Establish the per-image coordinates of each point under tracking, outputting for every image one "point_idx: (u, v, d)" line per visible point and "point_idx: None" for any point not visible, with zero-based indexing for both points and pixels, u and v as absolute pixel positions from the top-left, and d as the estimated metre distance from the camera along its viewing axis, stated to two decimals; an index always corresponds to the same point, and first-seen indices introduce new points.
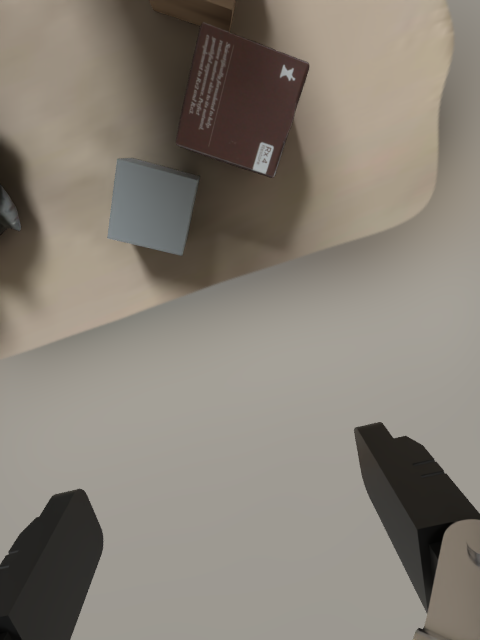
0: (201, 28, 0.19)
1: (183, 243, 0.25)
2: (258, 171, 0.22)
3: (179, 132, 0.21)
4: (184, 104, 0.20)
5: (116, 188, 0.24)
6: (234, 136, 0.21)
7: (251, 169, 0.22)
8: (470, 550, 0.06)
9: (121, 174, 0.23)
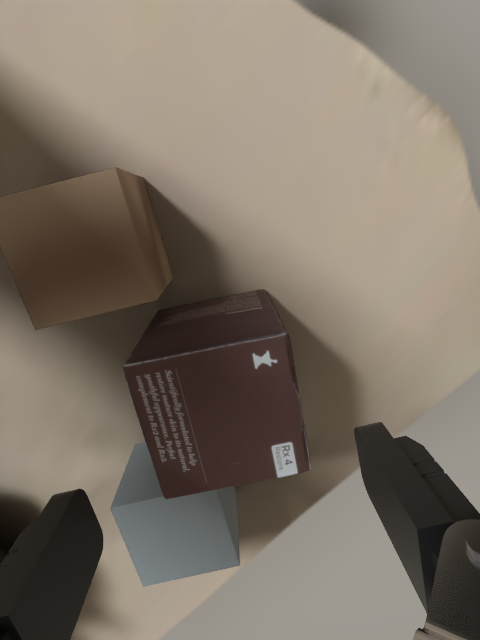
0: (125, 373, 0.13)
1: (234, 552, 0.19)
2: (286, 475, 0.15)
3: (162, 487, 0.14)
4: (151, 456, 0.14)
5: (125, 535, 0.18)
6: (233, 457, 0.14)
7: (276, 477, 0.15)
8: (470, 550, 0.06)
9: (122, 520, 0.18)
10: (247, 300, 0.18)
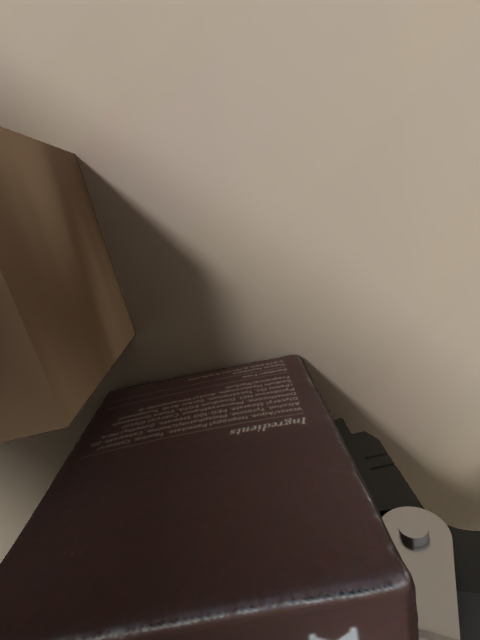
0: None
1: None
2: None
3: None
4: None
5: None
6: None
7: None
8: (400, 533, 0.07)
9: None
10: (271, 387, 0.09)
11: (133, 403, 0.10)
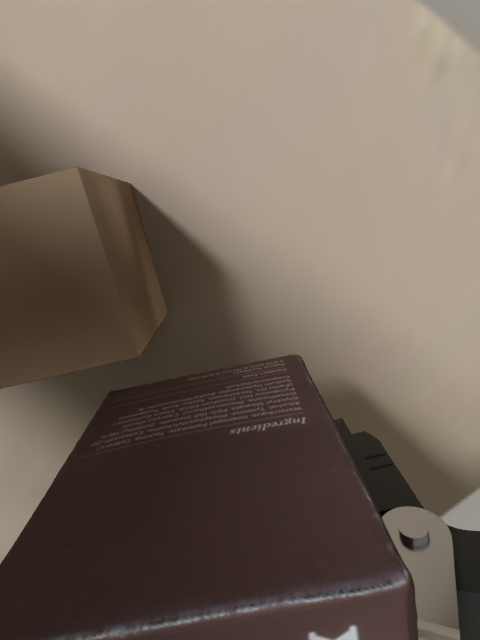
0: None
1: None
2: None
3: None
4: None
5: None
6: None
7: None
8: (400, 533, 0.07)
9: None
10: (271, 387, 0.09)
11: (133, 403, 0.10)
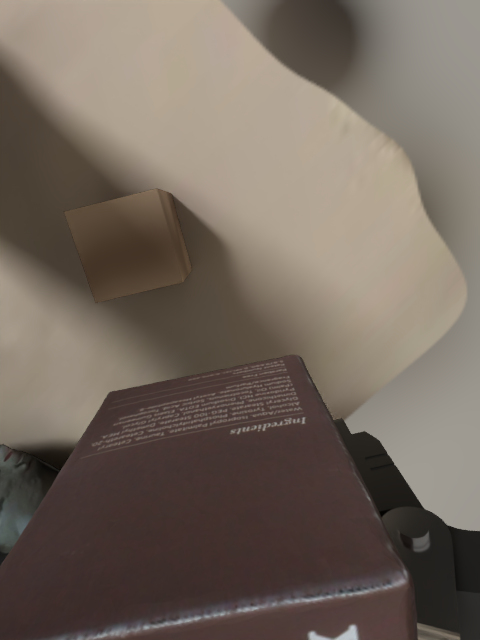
0: None
1: None
2: None
3: None
4: None
5: None
6: None
7: None
8: (400, 533, 0.07)
9: None
10: (271, 387, 0.09)
11: (134, 403, 0.10)
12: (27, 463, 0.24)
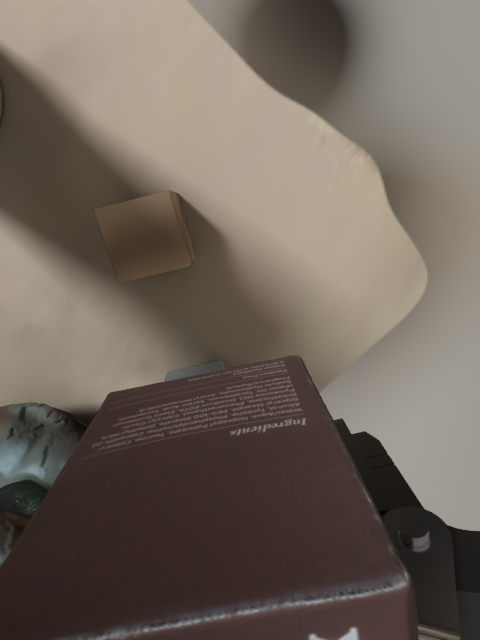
0: None
1: None
2: None
3: None
4: None
5: None
6: None
7: None
8: (400, 533, 0.07)
9: None
10: (271, 388, 0.09)
11: (134, 404, 0.10)
12: (65, 420, 0.29)
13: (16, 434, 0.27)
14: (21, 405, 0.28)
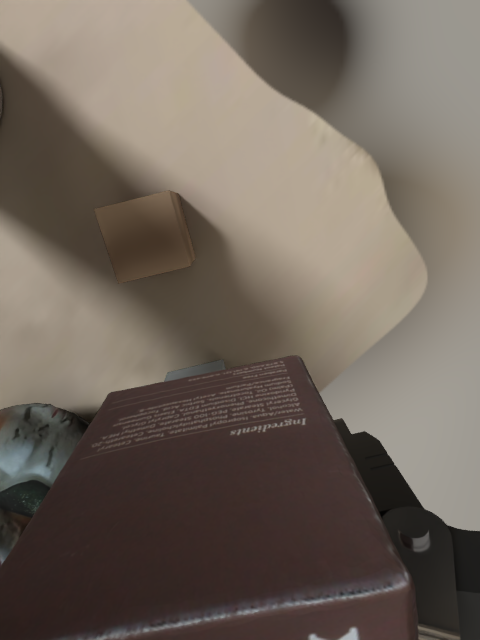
0: None
1: None
2: None
3: None
4: None
5: None
6: None
7: None
8: (400, 533, 0.07)
9: None
10: (271, 388, 0.09)
11: (134, 404, 0.10)
12: (70, 420, 0.29)
13: (21, 435, 0.27)
14: (26, 406, 0.28)
